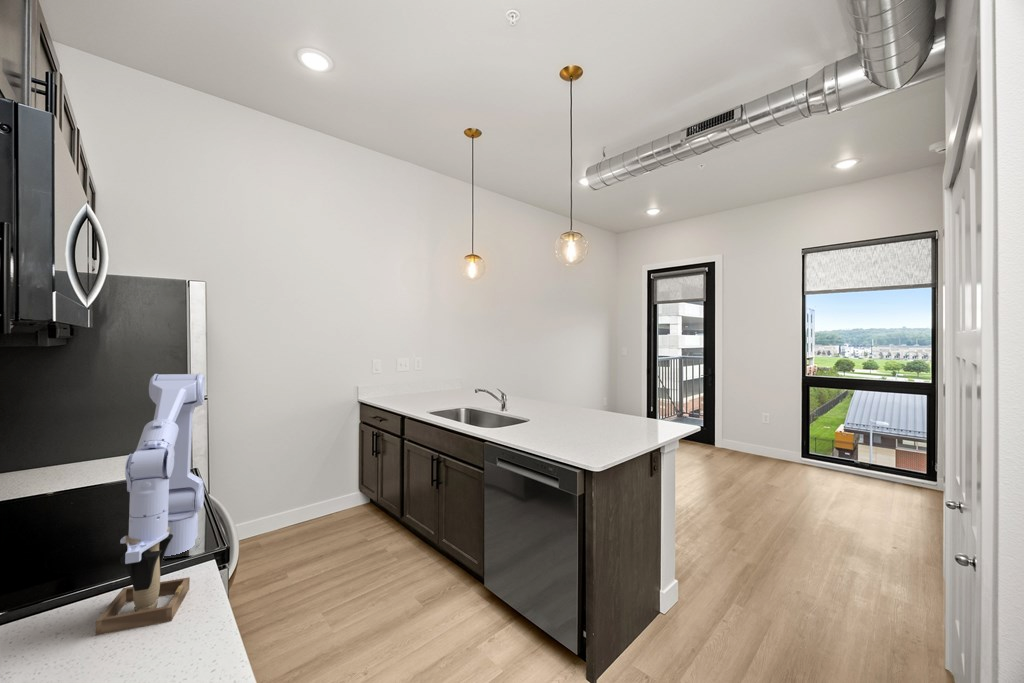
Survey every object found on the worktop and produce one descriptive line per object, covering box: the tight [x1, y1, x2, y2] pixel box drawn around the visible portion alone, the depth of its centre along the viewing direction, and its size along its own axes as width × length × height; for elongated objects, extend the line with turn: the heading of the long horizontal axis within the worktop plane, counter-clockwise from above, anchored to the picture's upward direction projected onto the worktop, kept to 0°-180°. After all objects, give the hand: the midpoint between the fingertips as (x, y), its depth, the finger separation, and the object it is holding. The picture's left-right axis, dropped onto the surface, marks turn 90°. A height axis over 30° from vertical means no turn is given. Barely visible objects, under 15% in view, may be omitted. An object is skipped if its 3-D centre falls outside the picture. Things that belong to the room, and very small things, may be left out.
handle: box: [125, 527, 170, 612], centre depth 81 cm, size 5×6×15 cm
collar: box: [94, 577, 190, 637], centre depth 81 cm, size 11×11×3 cm
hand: (147, 582), depth 81 cm, fingers closed on handle, 4 cm apart
